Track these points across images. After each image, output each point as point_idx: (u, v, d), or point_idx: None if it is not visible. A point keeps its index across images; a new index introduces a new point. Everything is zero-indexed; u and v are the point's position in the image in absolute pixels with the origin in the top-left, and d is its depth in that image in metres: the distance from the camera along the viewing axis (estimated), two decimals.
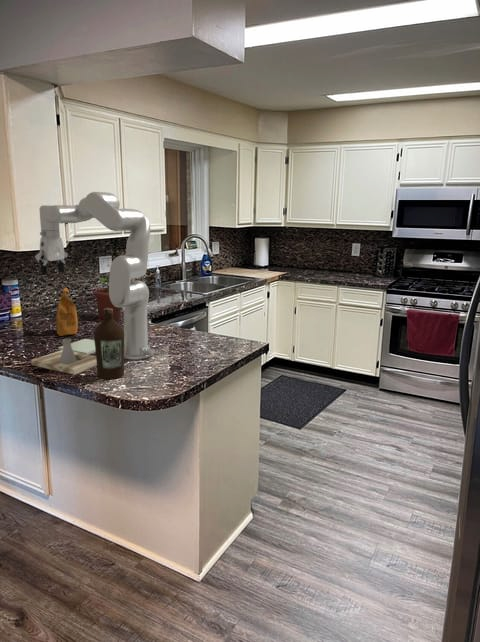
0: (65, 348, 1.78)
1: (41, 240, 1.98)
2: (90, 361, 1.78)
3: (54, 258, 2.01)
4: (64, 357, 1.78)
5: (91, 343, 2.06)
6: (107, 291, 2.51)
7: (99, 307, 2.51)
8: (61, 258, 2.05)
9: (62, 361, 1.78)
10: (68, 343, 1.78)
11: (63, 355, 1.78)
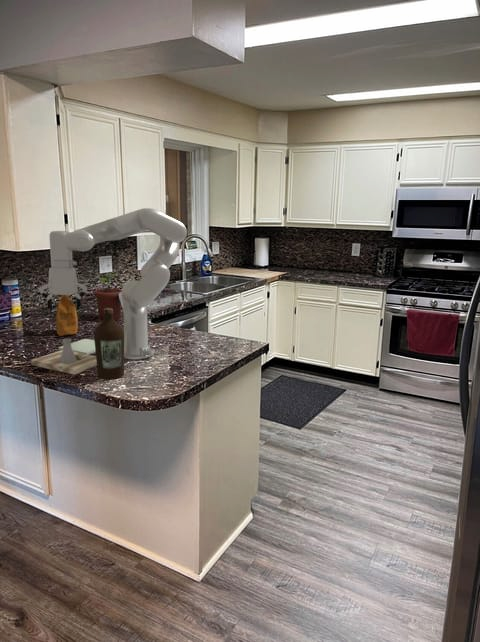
0: (65, 348, 1.78)
1: (75, 271, 1.73)
2: (90, 361, 1.78)
3: None
4: (64, 357, 1.78)
5: (91, 343, 2.06)
6: (107, 291, 2.51)
7: (99, 307, 2.51)
8: None
9: (62, 361, 1.78)
10: (68, 343, 1.78)
11: (63, 355, 1.78)
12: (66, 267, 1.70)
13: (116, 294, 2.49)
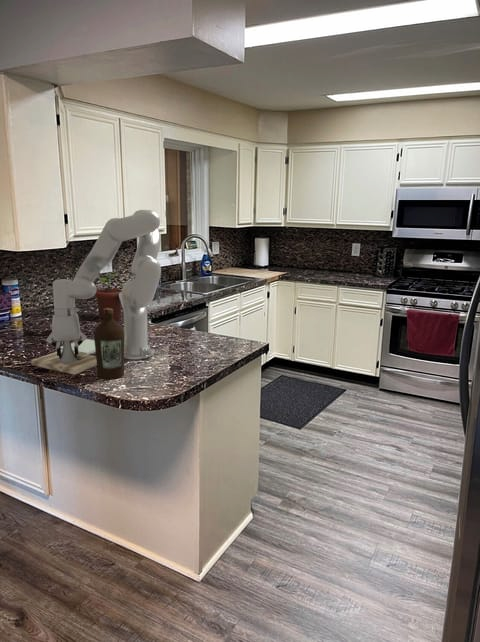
0: (65, 348, 1.78)
1: (77, 317, 1.78)
2: (90, 361, 1.78)
3: None
4: (64, 357, 1.78)
5: (91, 343, 2.06)
6: (108, 291, 2.51)
7: (100, 307, 2.51)
8: None
9: (62, 361, 1.78)
10: (68, 343, 1.78)
11: (63, 355, 1.78)
12: (69, 315, 1.74)
13: (116, 294, 2.49)
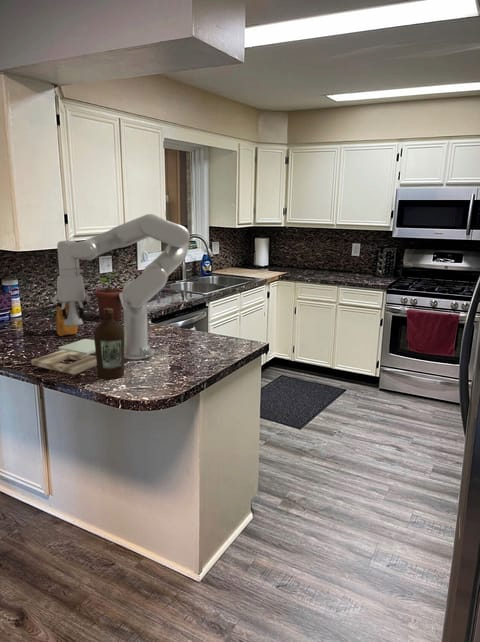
0: (70, 308, 1.82)
1: (82, 278, 1.82)
2: (90, 361, 1.78)
3: None
4: (70, 317, 1.82)
5: (91, 343, 2.06)
6: (108, 291, 2.51)
7: (100, 307, 2.51)
8: None
9: (68, 321, 1.82)
10: (73, 304, 1.82)
11: (68, 315, 1.82)
12: (74, 275, 1.78)
13: (117, 294, 2.49)
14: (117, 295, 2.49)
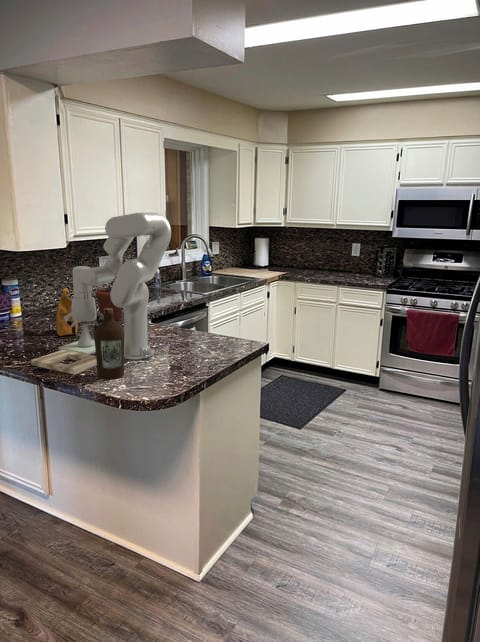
0: (83, 331, 2.00)
1: (94, 300, 1.99)
2: (90, 361, 1.78)
3: None
4: (83, 339, 1.99)
5: None
6: (108, 291, 2.51)
7: (100, 307, 2.51)
8: None
9: (81, 342, 1.99)
10: (86, 326, 2.00)
11: (81, 337, 2.00)
12: (87, 298, 1.95)
13: None
14: None
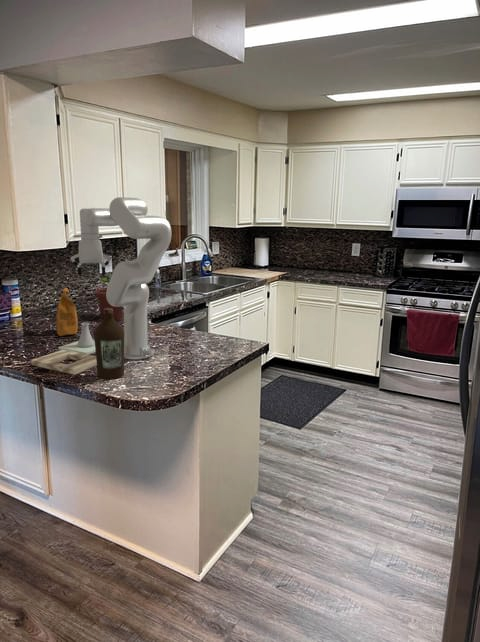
0: (83, 331, 2.00)
1: (100, 243, 2.04)
2: (90, 361, 1.78)
3: None
4: (83, 339, 1.99)
5: None
6: None
7: (101, 307, 2.51)
8: None
9: (81, 342, 1.99)
10: (86, 326, 2.00)
11: (81, 337, 2.00)
12: (94, 239, 2.00)
13: None
14: None
